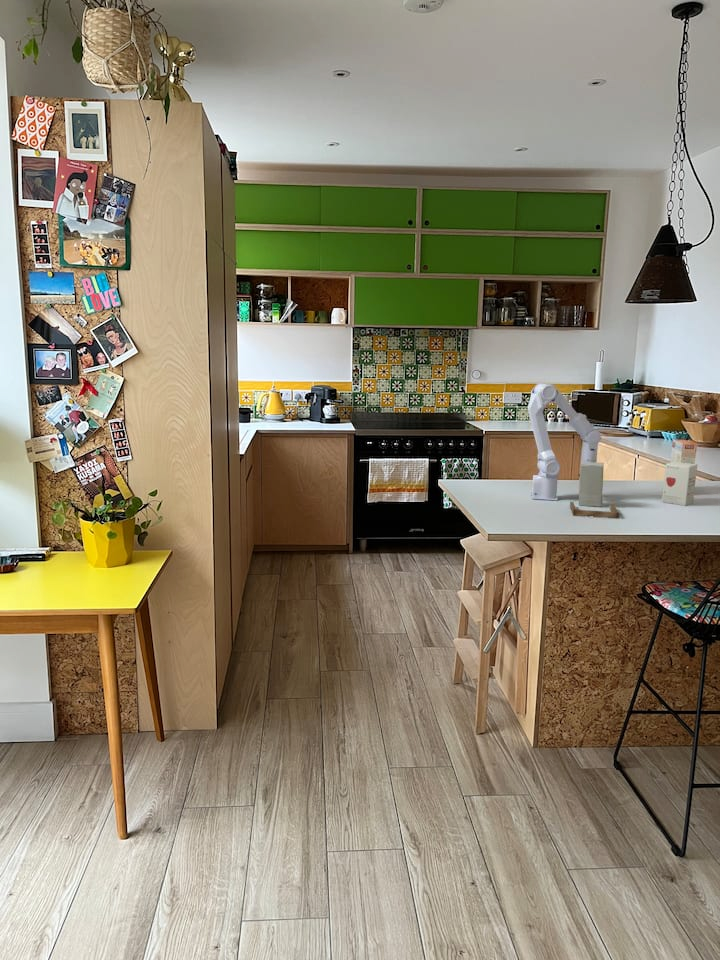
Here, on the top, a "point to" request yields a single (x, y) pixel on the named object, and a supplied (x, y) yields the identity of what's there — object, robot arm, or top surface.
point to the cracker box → (683, 451)
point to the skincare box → (591, 484)
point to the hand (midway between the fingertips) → (586, 494)
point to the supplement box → (679, 483)
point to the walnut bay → (595, 512)
